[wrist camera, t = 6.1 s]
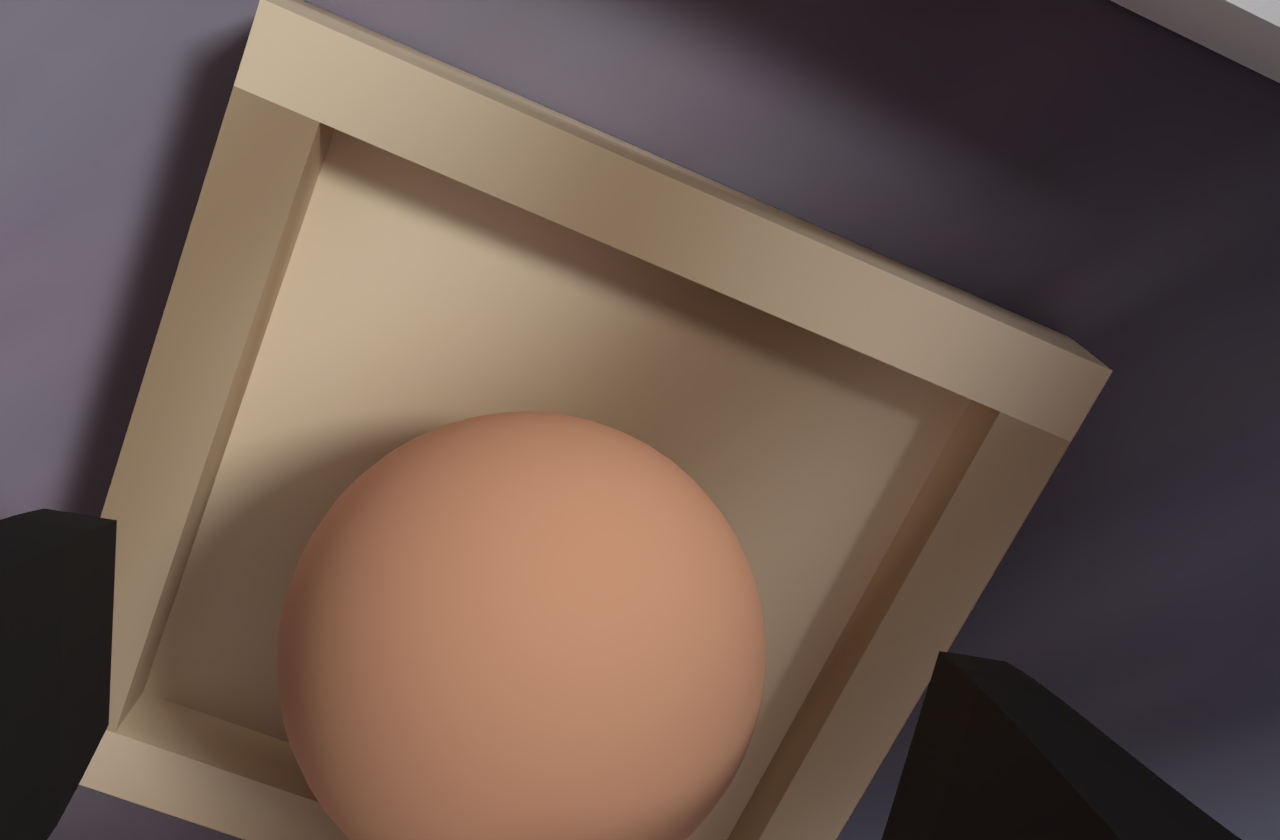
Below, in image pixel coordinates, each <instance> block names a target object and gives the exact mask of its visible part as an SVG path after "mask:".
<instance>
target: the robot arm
mask: <svg viewBox="0 0 1280 840" xmlns="http://www.w3.org/2000/svg"><path fill="white" fill-rule="evenodd" d="M116 531H117V520H112V519H106V518H100V517H93V516H87V515H81V514H74V513H68V512H62V511H56V510H49V509H41V510H36V511H31V512H27V513H23V514H19V515H15V516H12V517H8V518H5V519H2V520H0V840H47V839H48V837H49V836H50V834H51V833H52V831H53V830H54V828H55V827H56V826H57V824H58V822H59V820H60V818H61V816H62V815H63V813H64V811H65V809H66V807H67V805H68V803H69V802H70V800H71V798H72V796H73V794H74V792H75V790H76V789H77V787H78V785H79V783H80V781H81V779H82V777H83V775H84V773H85V771H86V769H87V767H88V765H89V763H90V761H91V759H92V757H93V755H94V753H95V751H96V749H97V747H98V745H99V743H100V741H101V739H102V737H103V735H104V733H105V731H106V729H107V727H108V725H109V705H110V680H111V655H112V630H113V606H114V581H115V556H116ZM882 840H1241V839H1240V838H1238V837H1237V836H1235V835H1234V834H1233V833H1231V832H1230V831H1229V830H1227V829H1226V828H1225V827H1223V826H1222V825H1221V824H1219V823H1218V822H1217V821H1215V820H1214V819H1213V818H1211V817H1210V816H1209V815H1207V814H1206V813H1205V812H1203V811H1202V810H1201V809H1199V808H1198V807H1197V806H1195V805H1194V804H1193V803H1192V802H1190V801H1189V800H1188V799H1186V798H1185V797H1184V796H1182V795H1181V794H1180V793H1179V792H1177V791H1176V790H1175V789H1173V788H1172V787H1171V786H1170V785H1168V784H1167V783H1166V782H1164V781H1163V780H1162V779H1161V778H1159V777H1158V776H1157V775H1155V774H1154V773H1153V772H1152V771H1150V770H1149V769H1148V768H1147V767H1145V766H1144V765H1143V764H1142V763H1140V762H1139V761H1138V760H1136V759H1135V758H1134V757H1133V756H1131V755H1130V754H1129V753H1128V752H1126V751H1125V750H1124V749H1123V748H1121V747H1120V746H1119V745H1118V744H1116V743H1115V742H1114V741H1113V740H1111V739H1110V738H1109V737H1108V736H1106V735H1105V734H1104V733H1102V732H1101V731H1100V730H1099V729H1097V728H1096V727H1095V726H1094V725H1092V724H1091V723H1090V722H1089V721H1087V720H1086V719H1085V718H1084V717H1082V716H1081V715H1080V714H1079V713H1077V712H1076V711H1075V710H1073V709H1072V708H1071V707H1070V706H1068V705H1067V704H1066V703H1064V702H1063V701H1062V700H1061V699H1059V698H1058V697H1057V696H1055V695H1054V694H1053V693H1051V692H1050V691H1049V690H1047V689H1046V688H1045V687H1043V686H1042V685H1041V684H1039V683H1038V682H1036V681H1035V680H1034V679H1032V678H1031V677H1029V676H1028V675H1026V674H1025V673H1023V672H1022V671H1020V670H1019V669H1017V668H1015V667H1014V666H1012V665H1010V664H1009V663H1007V662H1004V661H998V660H992V659H986V658H979V657H973V656H967V655H960V654H954V653H948V652H942V651H939V654H938V657H937V660H936V663H935V667H934V670H933V673H932V677H931V680H930V683H929V686H928V690H927V693H926V696H925V700H924V703H923V706H922V709H921V713H920V716H919V719H918V723H917V726H916V729H915V732H914V736H913V739H912V742H911V746H910V749H909V752H908V755H907V759H906V762H905V765H904V769H903V772H902V775H901V778H900V782H899V785H898V788H897V792H896V795H895V798H894V801H893V805H892V808H891V811H890V815H889V818H888V821H887V824H886V828H885V831H884V834H883V838H882Z"/></svg>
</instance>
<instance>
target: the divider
mask: <svg viewBox="0 0 1280 840" xmlns="http://www.w3.org/2000/svg"><path fill="white" fill-rule="evenodd" d="M1110 1H1112V2H1114V3H1116V4H1118V5H1120V6H1122V7H1124V8H1126V9H1129V10H1131V11H1133V12H1135V13H1137V14H1139V15H1141V16H1143V17H1145V18H1147V19H1149V20H1151V21H1153V22H1155V23H1157V24H1159V25H1161V26H1163V27H1165V28H1167V29H1170V30H1172V31H1174V32H1176V33H1178V34H1180V35H1182V36H1184V37H1186V38H1188V39H1190V40H1192V41H1194V42H1196V43H1198V44H1200V45H1202V46H1204V47H1206V48H1208V49H1210V50H1213V51H1215V52H1217V53H1219V54H1221V55H1223V56H1225V57H1227V58H1229V59H1231V60H1233V61H1235V62H1237V63H1239V64H1241V65H1243V66H1245V67H1247V68H1249V69H1251V70H1254V71H1256V72H1258V73H1260V74H1262V75H1264V76H1266V77H1268V78H1270V79H1272V80H1274V81H1276V82H1278V83H1280V0H1110Z"/></svg>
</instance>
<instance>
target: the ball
mask: <svg viewBox="0 0 1280 840" xmlns="http://www.w3.org/2000/svg"><path fill="white" fill-rule="evenodd" d="M765 665H766V642H765V633H764V625H763V618H762V610H761V602H760V598H759V595H758V591H757V588H756V584H755V581H754V577H753V574H752V571H751V569H750V567H749V564H748V562H747V559H746V557H745V555H744V553H743V550H742V548H741V546H740V544H739V542H738V539H737V537H736V535H735V533H734V532H733V530H732V529H731V527H730V526H729V524H728V522H727V521H726V519H725V518H724V516H723V515H722V513H721V511H720V510H719V509H718V508H717V507H716V505H715V504H714V503H713V502H712V501H711V499H710V498H709V497H708V496H707V495H706V494H705V492H704V491H703V490H702V489H701V488H700V487H699V485H698V484H697V483H696V482H695V481H694V480H693V479H692V478H691V477H690V476H689V475H688V474H686V473H685V472H684V471H683V470H682V469H681V468H680V467H679V466H677V465H676V464H675V463H674V462H673V461H672V460H670V459H669V458H667V457H666V456H664V455H663V454H661V453H660V452H658V451H657V450H655V449H654V448H652V447H651V446H649V445H648V444H646V443H644V442H642V441H640V440H638V439H636V438H634V437H632V436H630V435H628V434H626V433H624V432H622V431H619V430H617V429H614V428H611V427H609V426H606V425H603V424H600V423H597V422H595V421H592V420H588V419H583V418H579V417H574V416H570V415H565V414H558V413H547V412H537V411H527V412H503V413H496V414H490V415H483V416H477V417H471V418H468V419H464V420H461V421H457V422H454V423H450V424H447V425H443V426H441V427H438V428H436V429H434V430H431V431H429V432H427V433H424V434H422V435H420V436H417V437H415V438H413V439H412V440H410V441H408V442H407V443H405V444H403V445H401V446H400V447H398V448H396V449H395V450H393V451H391V452H390V453H388V454H387V455H386V456H384V457H383V458H382V459H381V460H379V461H378V462H377V463H375V464H374V465H373V466H372V467H370V468H369V469H368V470H367V471H365V472H364V473H363V474H362V475H360V476H359V477H358V478H357V479H356V480H355V481H354V482H353V483H352V484H351V485H350V486H349V487H348V488H347V489H346V490H345V491H344V492H343V493H342V494H341V496H340V497H339V498H338V499H337V500H336V501H335V503H334V504H333V505H332V507H331V508H330V510H329V511H328V513H327V514H326V515H325V517H324V518H323V520H322V521H321V522H320V524H319V525H318V527H317V528H316V529H315V531H314V532H313V534H312V535H311V537H310V539H309V541H308V543H307V545H306V547H305V549H304V551H303V553H302V555H301V557H300V559H299V561H298V563H297V566H296V568H295V571H294V574H293V577H292V580H291V583H290V586H289V589H288V592H287V595H286V598H285V601H284V604H283V609H282V615H281V621H280V627H279V634H278V645H277V684H278V691H279V698H280V705H281V711H282V717H283V723H284V726H285V730H286V733H287V736H288V740H289V743H290V746H291V749H292V752H293V754H294V756H295V758H296V760H297V762H298V764H299V767H300V769H301V771H302V773H303V775H304V777H305V780H306V782H307V784H308V786H309V788H310V789H311V791H312V793H313V794H314V796H315V797H316V799H317V800H318V802H319V803H320V805H321V806H322V808H323V810H324V811H325V812H326V813H327V814H328V815H329V817H330V818H331V819H332V820H333V821H334V822H335V824H336V825H337V826H338V827H339V828H340V829H341V831H342V832H343V833H344V834H345V835H346V836H347V837H348V838H349V839H350V840H686V839H687V838H688V837H690V836H691V834H692V833H693V832H694V831H695V830H696V829H697V828H698V827H699V826H700V825H701V823H702V822H703V821H704V820H705V819H706V818H707V817H708V815H709V814H710V813H711V811H712V810H713V809H714V807H715V806H716V804H717V803H718V802H719V800H720V799H721V797H722V796H723V794H724V793H725V791H726V790H727V788H728V787H729V786H730V784H731V783H732V781H733V779H734V777H735V775H736V773H737V771H738V769H739V767H740V765H741V763H742V761H743V759H744V756H745V754H746V751H747V749H748V746H749V744H750V741H751V738H752V735H753V732H754V729H755V726H756V723H757V720H758V717H759V711H760V705H761V699H762V693H763V687H764V679H765Z"/></svg>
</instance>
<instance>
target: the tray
mask: <svg viewBox="0 0 1280 840" xmlns="http://www.w3.org/2000/svg"><path fill="white" fill-rule="evenodd" d="M1112 372H1113V371H1112V370H1111V369H1110V368H1108V367H1107V366H1106V365H1104V364H1103V363H1102V362H1101V361H1099V360H1098V359H1097V358H1096V357H1094V356H1093V355H1092V354H1091V353H1089V352H1088V351H1087V350H1086V349H1084V348H1083V347H1082V346H1080V345H1079V344H1078V343H1077V342H1075V341H1074V340H1073V339H1072V338H1070V337H1068V336H1066V335H1064V334H1061V333H1059V332H1057V331H1055V330H1052V329H1050V328H1048V327H1045V326H1043V325H1041V324H1039V323H1036V322H1034V321H1032V320H1030V319H1027V318H1025V317H1023V316H1020V315H1018V314H1016V313H1014V312H1011V311H1009V310H1007V309H1004V308H1002V307H1000V306H998V305H995V304H993V303H991V302H989V301H986V300H984V299H982V298H979V297H977V296H975V295H973V294H970V293H968V292H966V291H964V290H961V289H959V288H957V287H954V286H952V285H950V284H948V283H945V282H943V281H941V280H938V279H936V278H934V277H932V276H929V275H927V274H925V273H923V272H920V271H918V270H916V269H913V268H911V267H909V266H907V265H904V264H902V263H900V262H898V261H895V260H893V259H891V258H888V257H886V256H884V255H882V254H879V253H877V252H875V251H873V250H870V249H868V248H866V247H863V246H861V245H859V244H857V243H854V242H852V241H850V240H847V239H845V238H843V237H841V236H838V235H836V234H834V233H832V232H829V231H827V230H825V229H822V228H820V227H818V226H816V225H813V224H811V223H809V222H807V221H804V220H802V219H800V218H797V217H795V216H793V215H791V214H788V213H786V212H784V211H782V210H779V209H777V208H775V207H772V206H770V205H768V204H766V203H763V202H761V201H759V200H756V199H754V198H752V197H750V196H747V195H745V194H743V193H741V192H738V191H736V190H734V189H731V188H729V187H727V186H725V185H722V184H720V183H718V182H716V181H713V180H711V179H709V178H706V177H704V176H702V175H700V174H697V173H695V172H693V171H690V170H688V169H686V168H684V167H681V166H679V165H677V164H675V163H672V162H670V161H668V160H665V159H663V158H661V157H659V156H656V155H654V154H652V153H650V152H647V151H645V150H643V149H640V148H638V147H636V146H634V145H631V144H629V143H627V142H625V141H622V140H620V139H618V138H615V137H613V136H611V135H609V134H606V133H604V132H602V131H599V130H597V129H595V128H593V127H590V126H588V125H586V124H584V123H581V122H579V121H577V120H574V119H572V118H570V117H568V116H565V115H563V114H561V113H559V112H556V111H554V110H552V109H549V108H547V107H545V106H543V105H540V104H538V103H536V102H533V101H531V100H529V99H527V98H524V97H522V96H520V95H518V94H515V93H513V92H511V91H508V90H506V89H504V88H502V87H499V86H497V85H495V84H493V83H490V82H488V81H486V80H483V79H481V78H479V77H477V76H474V75H472V74H470V73H468V72H465V71H463V70H461V69H458V68H456V67H454V66H452V65H449V64H447V63H445V62H442V61H440V60H438V59H436V58H433V57H431V56H429V55H427V54H424V53H422V52H420V51H417V50H415V49H413V48H411V47H408V46H406V45H404V44H402V43H399V42H397V41H395V40H392V39H390V38H388V37H386V36H383V35H381V34H379V33H377V32H374V31H372V30H370V29H367V28H365V27H363V26H361V25H358V24H356V23H354V22H351V21H349V20H347V19H345V18H342V17H340V16H338V15H336V14H333V13H331V12H329V11H326V10H324V9H322V8H320V7H317V6H315V5H313V4H311V3H308V2H306V1H304V0H260V2H259V5H258V9H257V12H256V15H255V18H254V22H253V25H252V28H251V31H250V34H249V38H248V41H247V44H246V47H245V51H244V54H243V57H242V60H241V64H240V67H239V70H238V73H237V77H236V80H235V83H234V86H233V90H232V93H231V96H230V99H229V102H228V106H227V109H226V112H225V115H224V119H223V122H222V125H221V128H220V132H219V135H218V138H217V141H216V145H215V148H214V151H213V154H212V157H211V161H210V164H209V167H208V170H207V174H206V177H205V180H204V183H203V187H202V190H201V193H200V196H199V200H198V203H197V206H196V209H195V213H194V216H193V219H192V222H191V225H190V229H189V232H188V235H187V238H186V242H185V245H184V248H183V251H182V255H181V258H180V261H179V264H178V268H177V271H176V274H175V277H174V281H173V284H172V287H171V290H170V293H169V297H168V300H167V303H166V306H165V310H164V313H163V316H162V319H161V323H160V326H159V329H158V332H157V336H156V339H155V342H154V345H153V349H152V352H151V355H150V358H149V361H148V365H147V368H146V371H145V374H144V378H143V381H142V384H141V387H140V391H139V394H138V397H137V400H136V404H135V407H134V410H133V413H132V417H131V420H130V423H129V426H128V429H127V433H126V436H125V439H124V442H123V446H122V449H121V452H120V455H119V459H118V462H117V465H116V468H115V472H114V475H113V478H112V481H111V485H110V488H109V491H108V494H107V497H106V501H105V504H104V507H103V510H102V514H101V517H100V518H106V519H112V520H117V531H116V556H115V581H114V606H113V630H112V655H111V680H110V705H109V725H108V727H107V729H106V731H105V733H104V735H103V737H102V739H101V741H100V743H99V745H98V747H97V749H96V751H95V753H94V755H93V757H92V759H91V761H90V763H89V765H88V767H87V769H86V771H85V773H84V775H83V777H82V779H81V781H80V783H79V785H82V786H85V787H88V788H91V789H94V790H97V791H100V792H103V793H106V794H109V795H112V796H115V797H118V798H121V799H124V800H127V801H130V802H133V803H136V804H139V805H142V806H145V807H148V808H151V809H154V810H157V811H160V812H163V813H166V814H169V815H172V816H175V817H178V818H181V819H184V820H187V821H190V822H193V823H196V824H199V825H202V826H205V827H208V828H211V829H214V830H217V831H220V832H223V833H226V834H229V835H232V836H235V837H238V838H241V839H244V840H350V839H349V838H348V837H347V836H346V835H345V834H344V833H343V832H342V831H341V829H340V828H339V827H338V826H337V825H336V824H335V822H334V821H333V820H332V819H331V818H330V817H329V815H328V814H327V813H326V812H325V811H324V810H323V808H322V806H321V805H320V803H319V802H318V800H317V799H316V797H315V796H314V794H313V793H312V791H311V789H310V788H309V786H308V784H307V782H306V780H305V777H304V775H303V773H302V771H301V769H300V767H299V764H298V762H297V760H296V758H295V756H294V754H293V752H292V749H291V746H290V743H289V740H288V736H287V733H286V730H285V726H284V723H283V717H282V711H281V705H280V698H279V691H278V684H277V645H278V634H279V627H280V621H281V615H282V609H283V604H284V601H285V598H286V595H287V592H288V589H289V586H290V583H291V580H292V577H293V574H294V571H295V568H296V566H297V563H298V561H299V559H300V557H301V555H302V553H303V551H304V549H305V547H306V545H307V543H308V541H309V539H310V537H311V535H312V534H313V532H314V531H315V529H316V528H317V527H318V525H319V524H320V522H321V521H322V520H323V518H324V517H325V515H326V514H327V513H328V511H329V510H330V508H331V507H332V505H333V504H334V503H335V501H336V500H337V499H338V498H339V497H340V496H341V494H342V493H343V492H344V491H345V490H346V489H347V488H348V487H349V486H350V485H351V484H352V483H353V482H354V481H355V480H356V479H357V478H358V477H359V476H360V475H362V474H363V473H364V472H365V471H367V470H368V469H369V468H370V467H372V466H373V465H374V464H375V463H377V462H378V461H379V460H381V459H382V458H383V457H384V456H386V455H387V454H388V453H390V452H391V451H393V450H395V449H396V448H398V447H400V446H401V445H403V444H405V443H407V442H408V441H410V440H412V439H413V438H415V437H417V436H420V435H422V434H424V433H427V432H429V431H431V430H434V429H436V428H438V427H441V426H443V425H447V424H450V423H454V422H457V421H461V420H464V419H468V418H471V417H477V416H483V415H490V414H496V413H503V412H527V411H537V412H547V413H558V414H565V415H570V416H574V417H579V418H583V419H588V420H592V421H595V422H597V423H600V424H603V425H606V426H609V427H611V428H614V429H617V430H619V431H622V432H624V433H626V434H628V435H630V436H632V437H634V438H636V439H638V440H640V441H642V442H644V443H646V444H648V445H649V446H651V447H652V448H654V449H655V450H657V451H658V452H660V453H661V454H663V455H664V456H666V457H667V458H669V459H670V460H672V461H673V462H674V463H675V464H676V465H677V466H679V467H680V468H681V469H682V470H683V471H684V472H685V473H686V474H688V475H689V476H690V477H691V478H692V479H693V480H694V481H695V482H696V483H697V484H698V485H699V487H700V488H701V489H702V490H703V491H704V492H705V494H706V495H707V496H708V497H709V498H710V499H711V501H712V502H713V503H714V504H715V505H716V507H717V508H718V509H719V510H720V511H721V513H722V515H723V516H724V518H725V519H726V521H727V522H728V524H729V526H730V527H731V529H732V530H733V532H734V533H735V535H736V537H737V539H738V542H739V544H740V546H741V548H742V550H743V553H744V555H745V557H746V559H747V562H748V564H749V567H750V569H751V571H752V574H753V577H754V581H755V584H756V588H757V591H758V595H759V598H760V602H761V610H762V618H763V625H764V633H765V642H766V665H765V679H764V687H763V693H762V699H761V705H760V711H759V717H758V720H757V723H756V726H755V729H754V732H753V735H752V738H751V741H750V744H749V746H748V749H747V751H746V754H745V756H744V759H743V761H742V763H741V765H740V767H739V769H738V771H737V773H736V775H735V777H734V779H733V781H732V783H731V784H730V786H729V787H728V788H727V790H726V791H725V793H724V794H723V796H722V797H721V799H720V800H719V802H718V803H717V804H716V806H715V807H714V809H713V810H712V811H711V813H710V814H709V815H708V817H707V818H706V819H705V820H704V821H703V822H702V823H701V825H700V826H699V827H698V828H697V829H696V830H695V831H694V832H693V833H692V834H691V836H690V837H688V838H687V839H686V840H836V839H837V837H838V836H839V834H840V832H841V831H842V829H843V827H844V826H845V824H846V822H847V820H848V819H849V817H850V815H851V814H852V812H853V810H854V809H855V807H856V805H857V804H858V802H859V800H860V798H861V797H862V795H863V793H864V792H865V790H866V788H867V787H868V785H869V783H870V782H871V780H872V778H873V776H874V775H875V773H876V771H877V770H878V768H879V766H880V765H881V763H882V761H883V759H884V758H885V756H886V754H887V753H888V751H889V749H890V748H891V746H892V744H893V743H894V741H895V739H896V737H897V736H898V734H899V732H900V731H901V729H902V727H903V726H904V724H905V722H906V721H907V719H908V717H909V715H910V714H911V712H912V710H913V709H914V707H915V705H916V704H917V702H918V700H919V699H920V697H921V695H922V693H923V692H924V690H925V688H926V687H927V685H928V683H929V682H930V680H931V677H932V673H933V670H934V667H935V663H936V660H937V657H938V654H939V651H942V652H947V651H948V649H949V648H950V646H951V644H952V643H953V641H954V639H955V638H956V636H957V634H958V632H959V631H960V629H961V627H962V626H963V624H964V622H965V621H966V619H967V617H968V616H969V614H970V612H971V610H972V609H973V607H974V605H975V604H976V602H977V600H978V599H979V597H980V595H981V593H982V592H983V590H984V588H985V587H986V585H987V583H988V582H989V580H990V578H991V577H992V575H993V573H994V571H995V570H996V568H997V566H998V565H999V563H1000V561H1001V560H1002V558H1003V556H1004V555H1005V553H1006V551H1007V549H1008V548H1009V546H1010V544H1011V543H1012V541H1013V539H1014V538H1015V536H1016V534H1017V533H1018V531H1019V529H1020V527H1021V526H1022V524H1023V522H1024V521H1025V519H1026V517H1027V516H1028V514H1029V512H1030V510H1031V509H1032V507H1033V505H1034V504H1035V502H1036V500H1037V499H1038V497H1039V495H1040V494H1041V492H1042V490H1043V488H1044V487H1045V485H1046V483H1047V482H1048V480H1049V478H1050V477H1051V475H1052V473H1053V472H1054V470H1055V468H1056V466H1057V465H1058V463H1059V461H1060V460H1061V458H1062V456H1063V455H1064V453H1065V451H1066V450H1067V448H1068V446H1069V444H1070V443H1071V441H1072V439H1073V438H1074V436H1075V434H1076V433H1077V431H1078V429H1079V427H1080V426H1081V424H1082V422H1083V421H1084V419H1085V417H1086V416H1087V414H1088V412H1089V411H1090V409H1091V407H1092V405H1093V404H1094V402H1095V400H1096V399H1097V397H1098V395H1099V394H1100V392H1101V390H1102V389H1103V387H1104V385H1105V383H1106V382H1107V380H1108V378H1109V377H1110V375H1111V373H1112Z"/></svg>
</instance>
